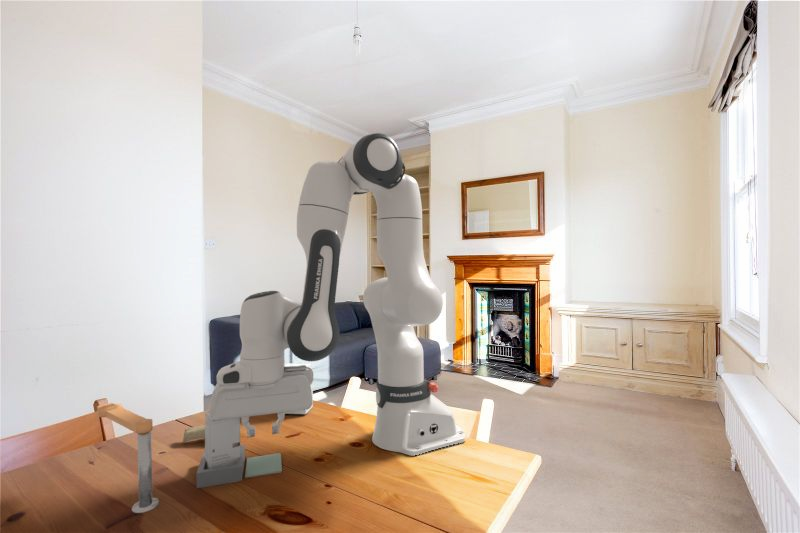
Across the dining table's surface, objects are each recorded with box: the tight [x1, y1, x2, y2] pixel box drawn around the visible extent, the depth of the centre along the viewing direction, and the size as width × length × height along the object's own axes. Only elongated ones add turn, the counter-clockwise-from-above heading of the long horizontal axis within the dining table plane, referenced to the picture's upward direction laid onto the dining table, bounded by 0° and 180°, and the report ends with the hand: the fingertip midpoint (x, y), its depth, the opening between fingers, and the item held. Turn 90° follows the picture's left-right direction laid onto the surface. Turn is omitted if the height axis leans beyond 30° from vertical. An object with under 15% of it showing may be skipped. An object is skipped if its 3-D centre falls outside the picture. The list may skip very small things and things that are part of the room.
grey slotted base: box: [195, 444, 246, 489], centre depth 81 cm, size 8×10×3 cm
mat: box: [244, 452, 283, 479], centre depth 84 cm, size 7×8×1 cm
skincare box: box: [204, 411, 241, 469], centre depth 82 cm, size 6×4×12 cm
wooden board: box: [96, 402, 153, 435], centre depth 74 cm, size 19×4×2 cm, turn 55°
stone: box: [182, 424, 205, 443], centre depth 96 cm, size 11×6×5 cm, turn 117°
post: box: [131, 430, 160, 514], centre depth 70 cm, size 4×4×13 cm
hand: (263, 434), depth 84 cm, fingers open, 3 cm apart
